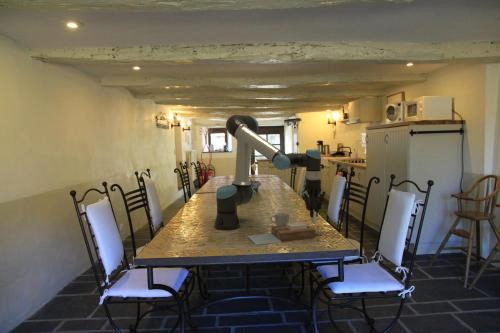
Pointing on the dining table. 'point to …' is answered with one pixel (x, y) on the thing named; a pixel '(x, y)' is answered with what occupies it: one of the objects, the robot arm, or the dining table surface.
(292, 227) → the beige flat block
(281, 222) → the cup
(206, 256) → the dining table surface
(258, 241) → the mat
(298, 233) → the block
